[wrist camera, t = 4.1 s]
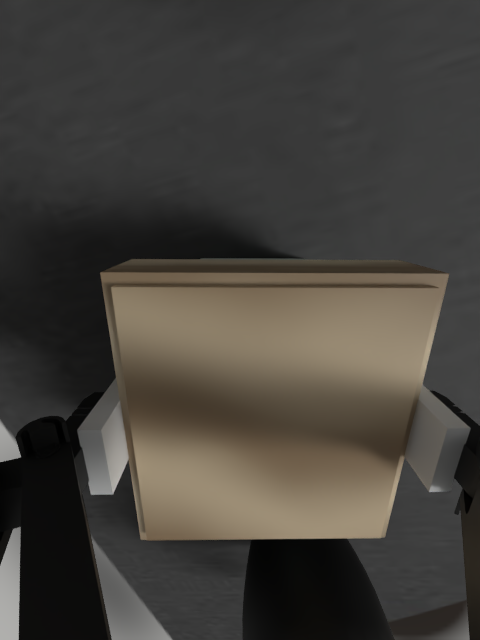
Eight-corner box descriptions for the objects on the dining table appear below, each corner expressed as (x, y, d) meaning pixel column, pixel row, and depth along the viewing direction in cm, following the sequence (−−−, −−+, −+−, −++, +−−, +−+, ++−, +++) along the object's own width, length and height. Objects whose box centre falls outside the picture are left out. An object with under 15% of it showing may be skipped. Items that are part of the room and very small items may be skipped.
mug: (266, 588, 26) (283, 780, 17) (226, 489, 23) (223, 666, 14) (357, 568, 26) (424, 755, 17) (332, 463, 22) (401, 630, 13)
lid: (131, 259, 12) (95, 274, 9) (399, 260, 12) (456, 275, 9) (157, 482, 16) (138, 546, 13) (358, 480, 16) (388, 544, 13)
